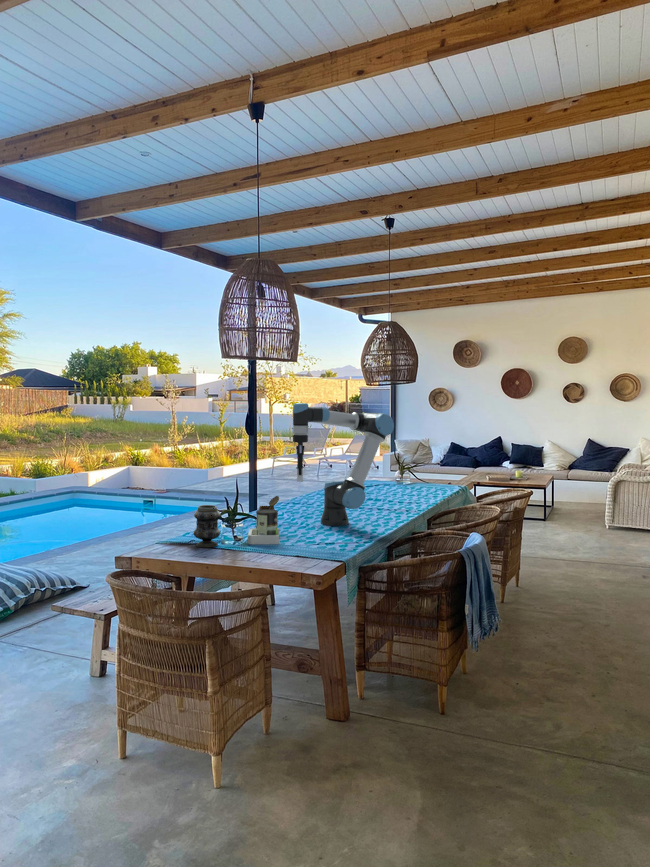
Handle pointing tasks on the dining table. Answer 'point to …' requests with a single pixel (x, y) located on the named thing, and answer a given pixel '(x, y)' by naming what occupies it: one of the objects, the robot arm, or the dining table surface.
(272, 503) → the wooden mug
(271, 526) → the coffee can
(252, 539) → the tray
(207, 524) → the stone vase
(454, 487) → the dining table surface
